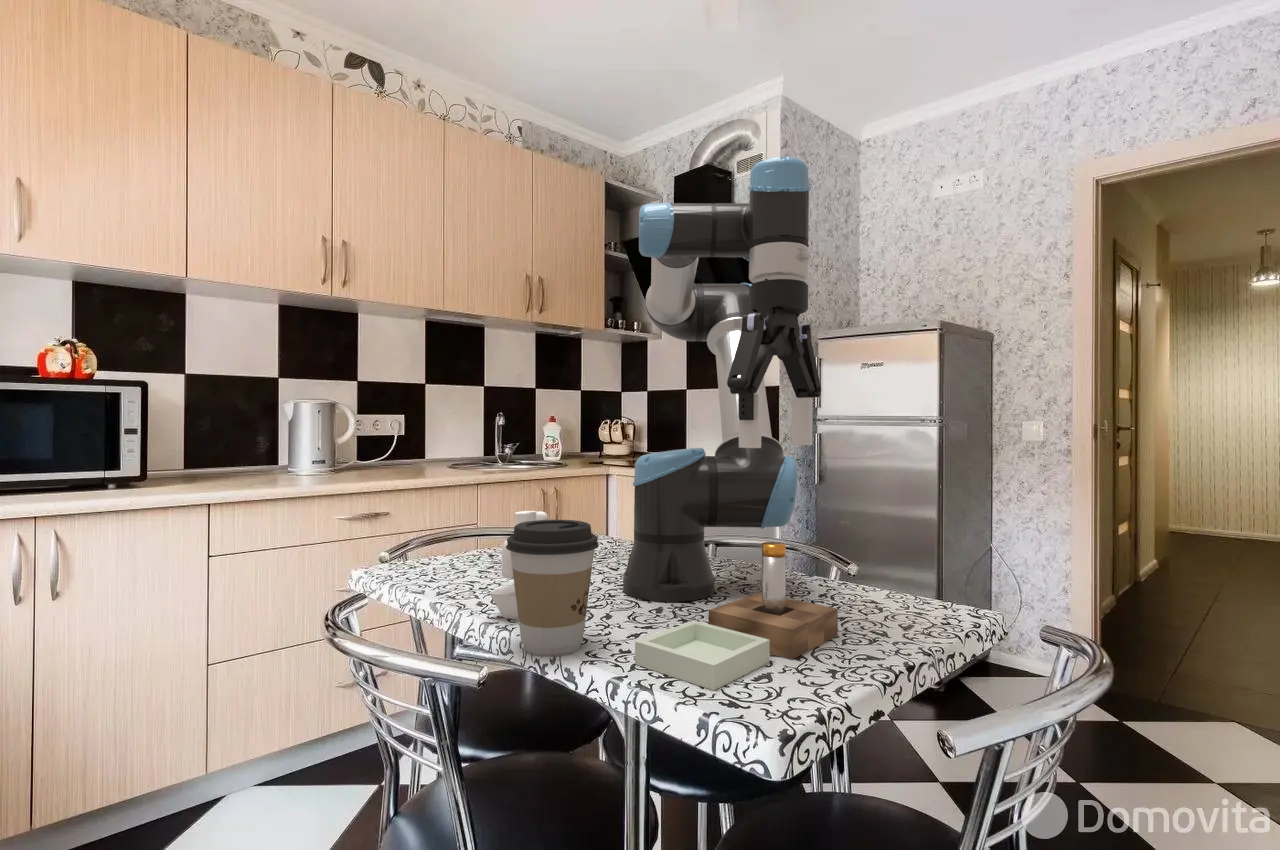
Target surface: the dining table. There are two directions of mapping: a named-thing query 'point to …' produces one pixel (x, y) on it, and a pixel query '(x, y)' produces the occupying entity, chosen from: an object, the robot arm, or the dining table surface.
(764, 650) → the tray
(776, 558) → the clear capped vial
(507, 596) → the figurine
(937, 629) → the dining table surface
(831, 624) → the block
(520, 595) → the coffee cup
